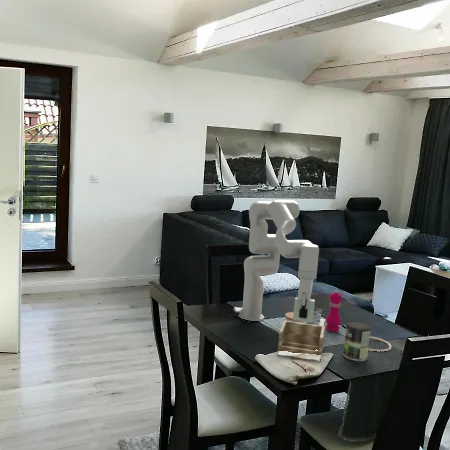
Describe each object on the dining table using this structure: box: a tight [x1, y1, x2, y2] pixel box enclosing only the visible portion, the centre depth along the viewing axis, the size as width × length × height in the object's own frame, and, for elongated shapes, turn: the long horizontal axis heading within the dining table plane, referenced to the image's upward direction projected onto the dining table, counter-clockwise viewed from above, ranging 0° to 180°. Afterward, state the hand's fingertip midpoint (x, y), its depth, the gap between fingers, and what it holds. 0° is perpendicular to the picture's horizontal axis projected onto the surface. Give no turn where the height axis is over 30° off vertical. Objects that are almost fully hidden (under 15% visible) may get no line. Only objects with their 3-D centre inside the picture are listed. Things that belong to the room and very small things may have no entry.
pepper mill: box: [325, 289, 343, 333], centre depth 265 cm, size 7×7×20 cm
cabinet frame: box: [277, 320, 326, 355], centre depth 235 cm, size 18×16×10 cm
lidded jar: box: [284, 311, 308, 324], centre depth 259 cm, size 11×11×9 cm
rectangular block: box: [293, 296, 316, 323], centre depth 229 cm, size 8×3×9 cm, turn 77°
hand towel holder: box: [368, 336, 392, 353], centre depth 251 cm, size 17×4×20 cm
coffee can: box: [342, 320, 372, 362], centre depth 234 cm, size 10×10×14 cm
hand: (303, 316), depth 230 cm, fingers closed on rectangular block, 3 cm apart
